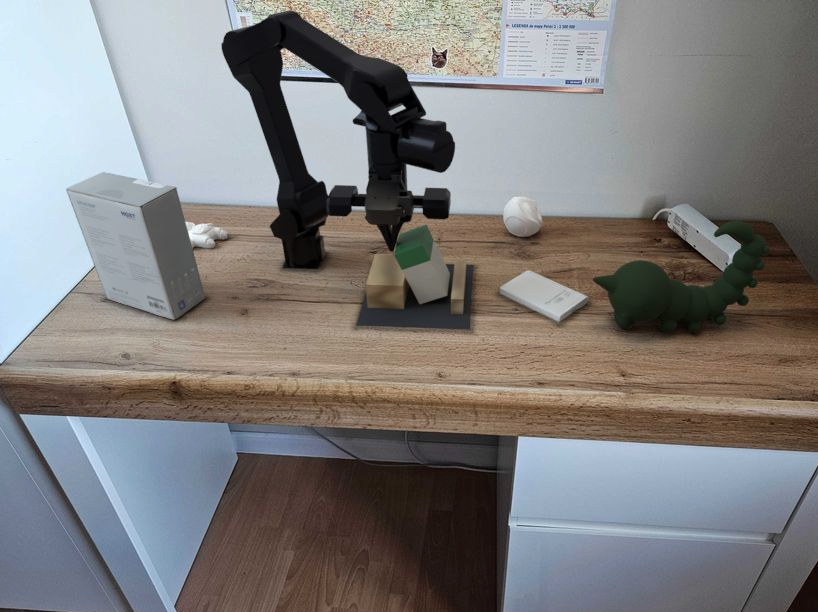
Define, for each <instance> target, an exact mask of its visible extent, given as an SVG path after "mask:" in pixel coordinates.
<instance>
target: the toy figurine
mask: <svg viewBox="0 0 818 612" xmlns="http://www.w3.org/2000/svg"><path fill="white" fill-rule="evenodd" d="M724 235H731V236H733V237H735V238H736V239H737V240H739V241H740V242H741V243H740V248H738V249H737V250H736V251H735V252H734V254H733V255H732V258H731V259H732V260H731V263H729V264H728V265H726V267H725V268H724V269H723V272H722V275H720V276H719V277H717V278H716V279H715V280H714V282H713V283H712V284H709V285H705V286H700V285H696V284H689V285H688V284H687V285H686V283H684V282H682V281H680V280H678V279H675V278H670V276H669V274H668V273H667V272H666V271H665V269H663V268H662V267H661V266H660V265H658V264H657V263H655V262H652V261H649V260H643V259H637V260H632V261H629V262H627V263H625V264H622V265H621V266H620V267H619V268H617V269H616V270H615V271H614V273H613V274H607V275H600V276H594V277H593V278H592V282H594V283H595V284H596V285H598V286H599V287H601V288H602V289H603V290H605V291H606V292H607V296H608V301H609V304H610V306H611V308H612V309H613V310H614V311H613V319H614V321H615V323H616V325H617V326H618V327H619V328H620V329H623V330H627V329H631V328H632V327H633V326H634V325H635V324H636V322H637V323H645V322H649V321H652V320H654V319H655V320H656V321H658V327H659V329H660V330H661V331H662V332H664V333H672V332H673V331H674V330H675V329H676V328H677V322H679V323H683V324H686V327H687V330H688V332H689V333H692V334H696V333H698V332H700V330H701V327H702V324H701V322H703V321H705V320H706V319H711V318H712V323H714V325H717V326H723V325H725V324H726V322H727V315H726V314H725V313H724V312H725V311H726V310H727V308H728V306H731V305H734V304H736V303H737V305H738V306H741V307H744V306H745V307H746V306H747V305H748V304H749V302H750V298H749V297H748V295H746V294H744V292H745V288H747V287H748V288H750V289H754V288H756V287H757V286H758V284H759V281H758V279H756V278H754V272H755V271H762V270H764V269H765V267H766V266H765V265H766V264H765V262H764V261H763V260H762V257H761V256H763V255H767V254H770V251H771V246H769V245H767V241H766V239H765V237H763V236H762V235H760V234H757V233H755V231H754V228H753V226H752V225H751V224H749V223H747V222H745V221H741V220H732V221H728V222H726V223H724V224H722V225H720V227H718V228H717V229H716V230H715V231H714V233H713V237H714V238H719V237H721V236H724Z"/></svg>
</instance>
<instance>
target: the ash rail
mask: <svg viewBox="0 0 818 612" xmlns="http://www.w3.org/2000/svg"><path fill="white" fill-rule="evenodd" d="M454 264H455V265H454V275H453V284H452V293H451V314H462V315H463V310H464V297H465V284H466V265H467V261H466V260H465V261H464V260H463V261H462V260H454Z"/></svg>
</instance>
